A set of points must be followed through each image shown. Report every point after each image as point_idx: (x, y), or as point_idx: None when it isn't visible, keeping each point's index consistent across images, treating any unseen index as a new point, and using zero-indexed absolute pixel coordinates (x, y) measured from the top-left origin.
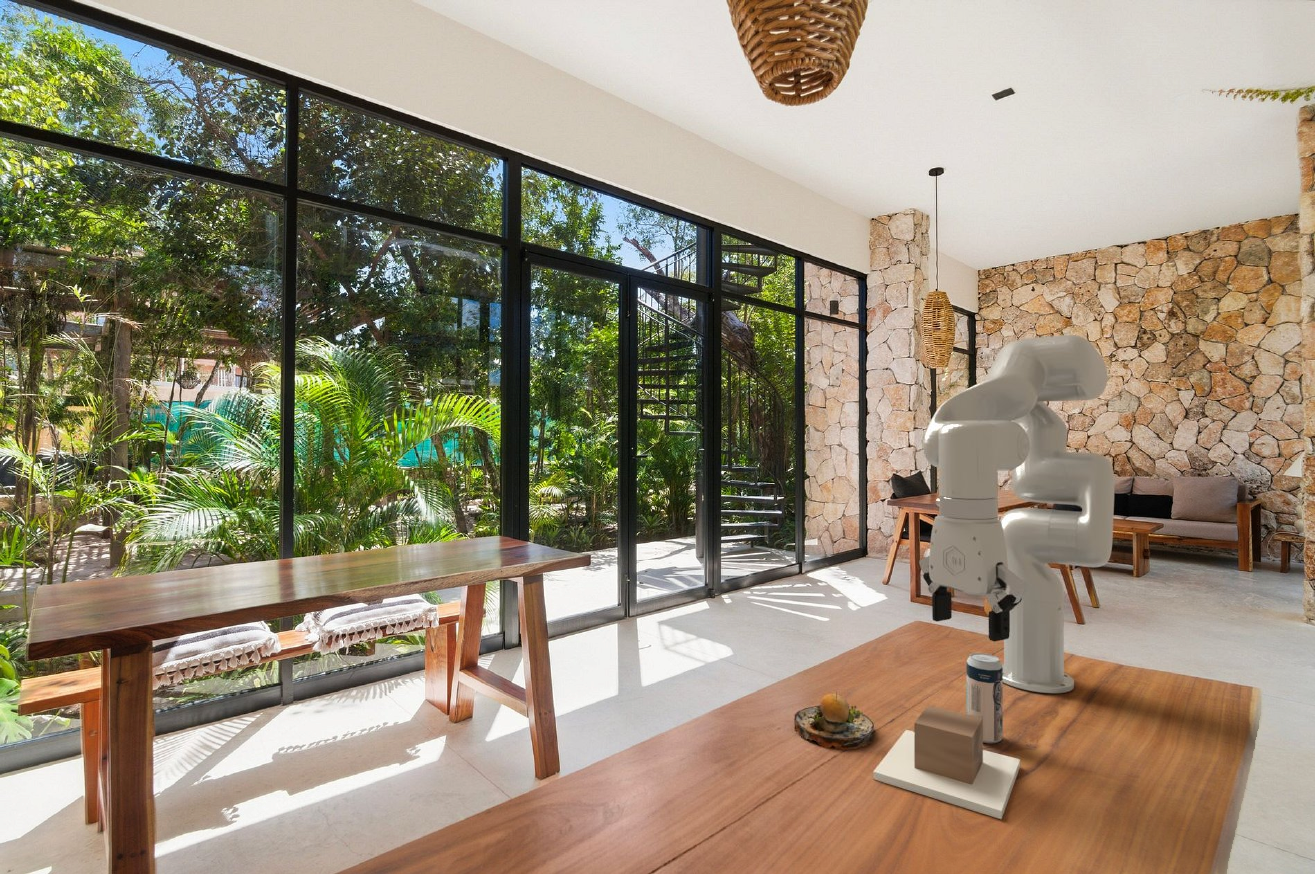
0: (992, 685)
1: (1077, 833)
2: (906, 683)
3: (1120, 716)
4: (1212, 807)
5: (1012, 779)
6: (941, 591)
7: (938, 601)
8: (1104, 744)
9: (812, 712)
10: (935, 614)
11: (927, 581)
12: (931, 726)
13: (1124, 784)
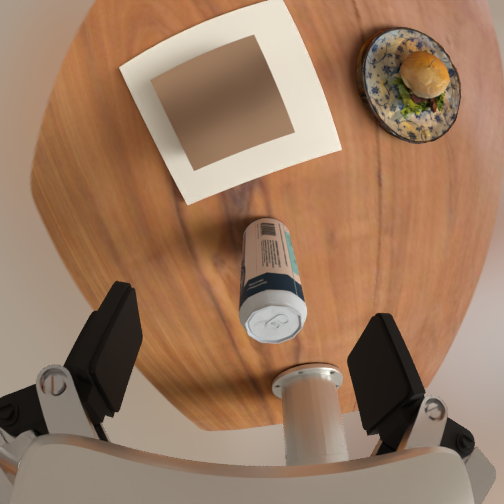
0: (245, 282)
1: (76, 125)
2: (408, 291)
3: (217, 372)
4: (77, 278)
5: (156, 145)
6: (395, 423)
7: (393, 379)
8: (184, 321)
9: (451, 101)
10: (386, 330)
11: (455, 429)
12: (222, 48)
13: (119, 260)
